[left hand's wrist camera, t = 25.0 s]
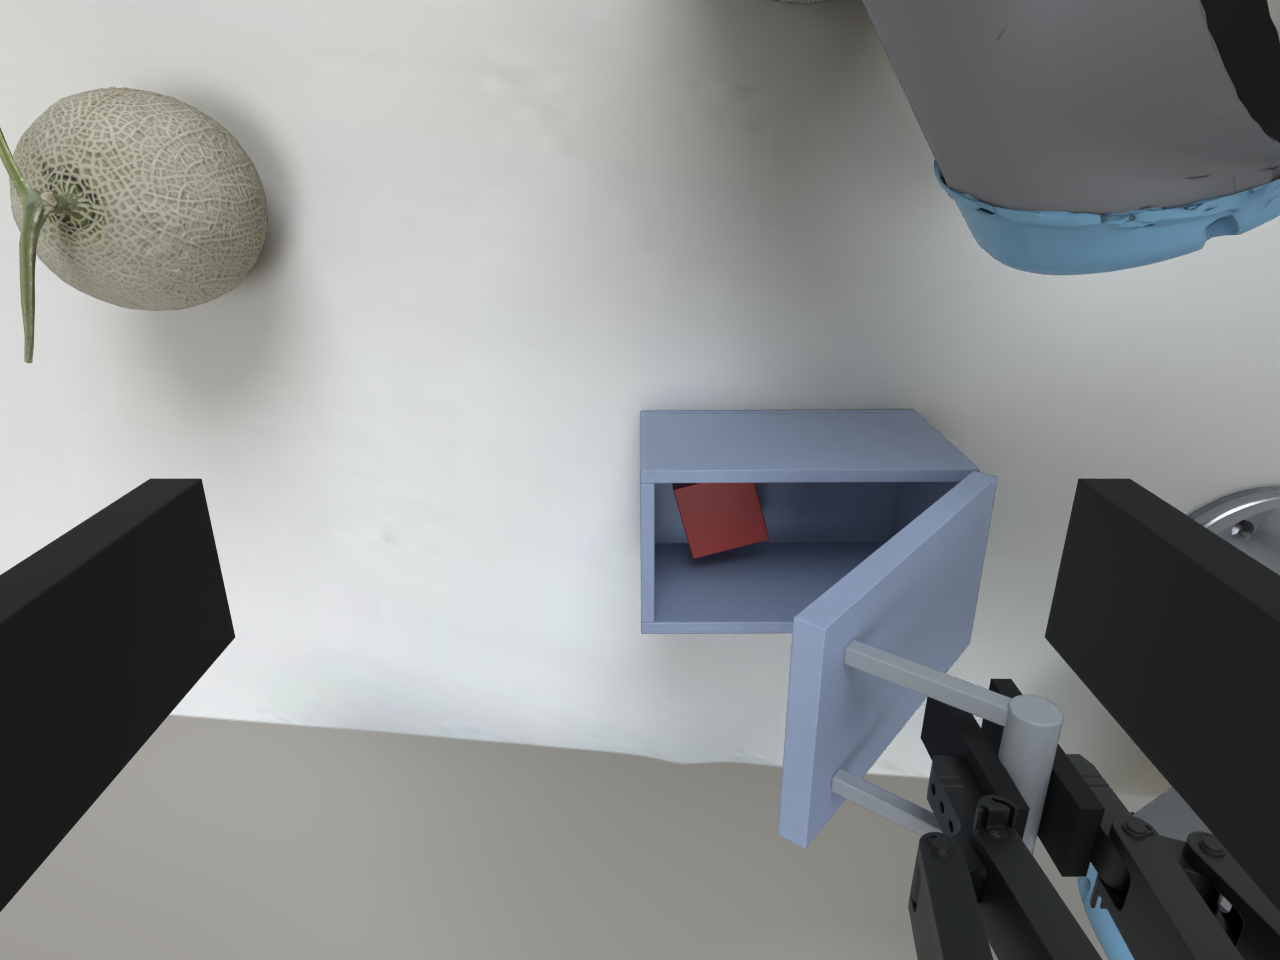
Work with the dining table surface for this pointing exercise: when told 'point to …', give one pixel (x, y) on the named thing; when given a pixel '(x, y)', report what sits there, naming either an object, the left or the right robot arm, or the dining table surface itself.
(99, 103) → the fruit
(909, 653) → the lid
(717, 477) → the chest
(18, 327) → the dining table surface
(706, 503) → the block
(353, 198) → the dining table surface
